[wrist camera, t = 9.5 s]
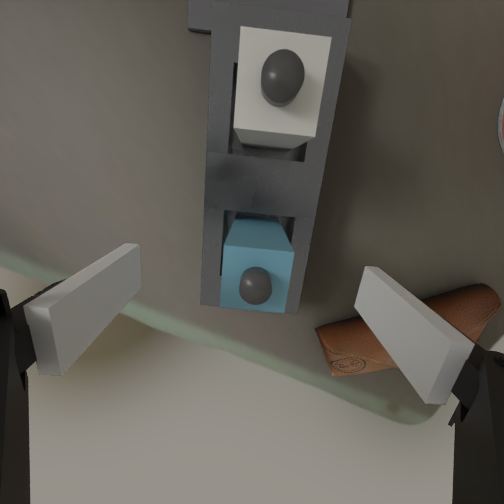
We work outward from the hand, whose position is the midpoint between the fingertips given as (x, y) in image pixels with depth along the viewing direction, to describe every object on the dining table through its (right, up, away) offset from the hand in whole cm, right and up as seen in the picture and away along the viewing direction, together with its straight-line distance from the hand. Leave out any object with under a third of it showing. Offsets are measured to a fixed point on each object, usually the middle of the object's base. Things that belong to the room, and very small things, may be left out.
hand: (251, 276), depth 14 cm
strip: (+1, +8, +9) cm, 12 cm away
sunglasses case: (+17, -8, +14) cm, 23 cm away
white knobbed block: (+1, +12, +6) cm, 14 cm away
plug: (0, +3, +10) cm, 10 cm away
